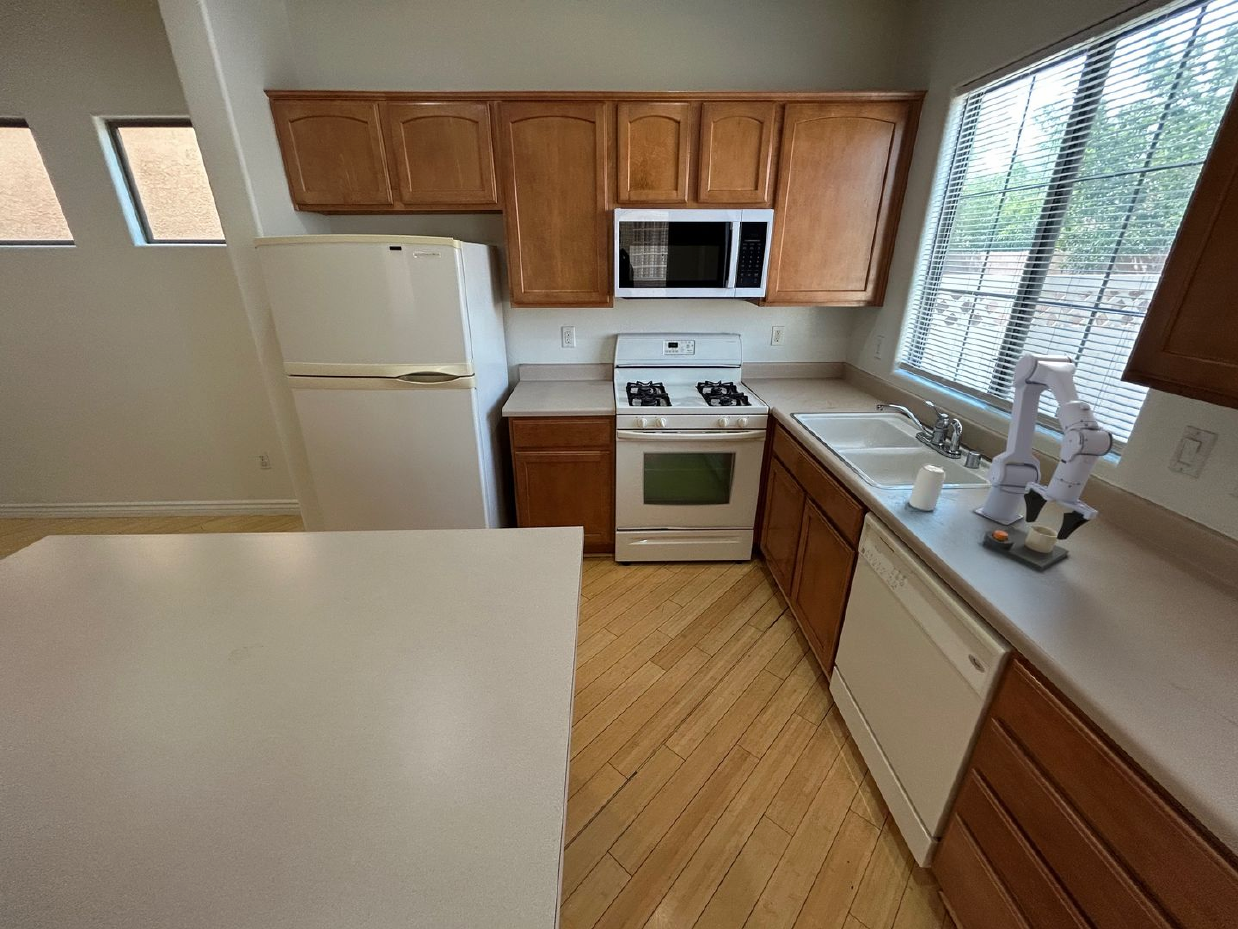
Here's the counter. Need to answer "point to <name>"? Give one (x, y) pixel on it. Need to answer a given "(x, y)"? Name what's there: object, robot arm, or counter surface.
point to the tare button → (1000, 535)
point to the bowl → (1041, 539)
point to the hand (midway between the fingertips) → (1045, 530)
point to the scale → (1023, 549)
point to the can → (927, 487)
